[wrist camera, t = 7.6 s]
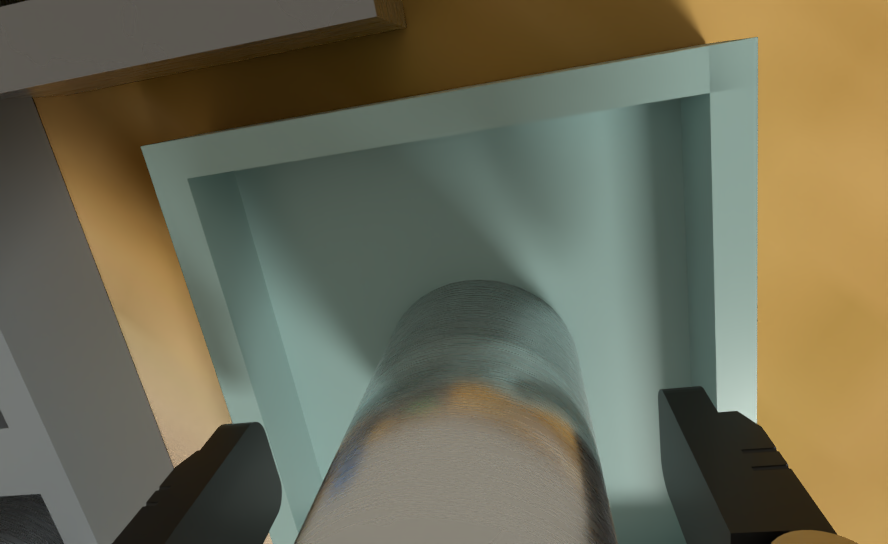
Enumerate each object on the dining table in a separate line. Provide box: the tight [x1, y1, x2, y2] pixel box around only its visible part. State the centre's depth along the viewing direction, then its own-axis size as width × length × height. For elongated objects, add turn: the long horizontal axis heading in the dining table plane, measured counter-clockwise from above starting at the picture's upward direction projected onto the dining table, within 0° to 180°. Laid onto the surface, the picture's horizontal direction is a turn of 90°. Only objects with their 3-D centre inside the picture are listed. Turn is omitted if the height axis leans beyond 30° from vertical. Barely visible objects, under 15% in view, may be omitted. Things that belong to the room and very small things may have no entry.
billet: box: [294, 280, 618, 544], centre depth 11 cm, size 5×5×8 cm
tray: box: [141, 37, 758, 544], centre depth 14 cm, size 12×14×3 cm
